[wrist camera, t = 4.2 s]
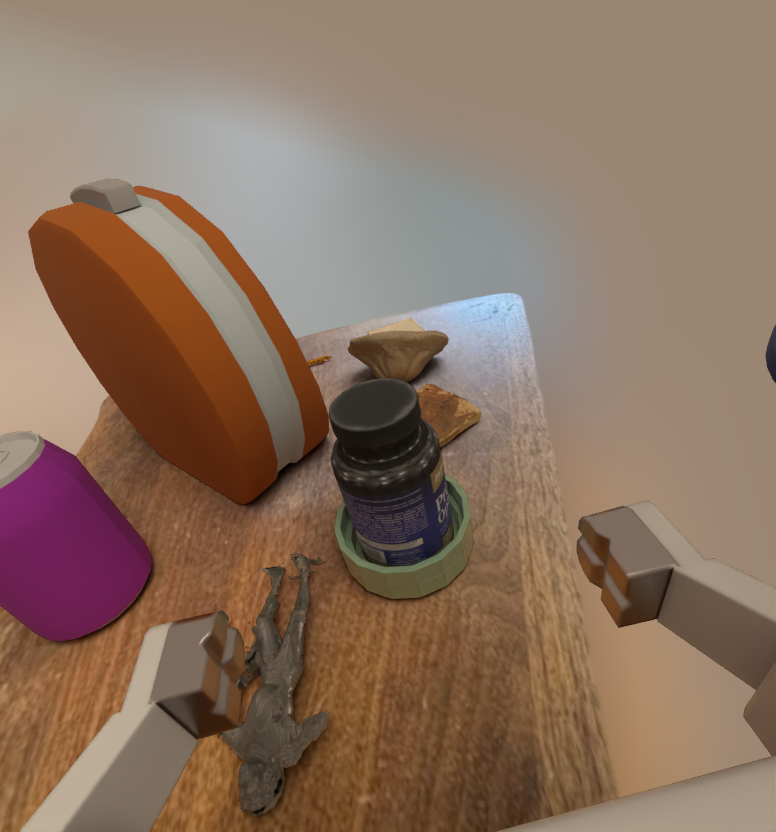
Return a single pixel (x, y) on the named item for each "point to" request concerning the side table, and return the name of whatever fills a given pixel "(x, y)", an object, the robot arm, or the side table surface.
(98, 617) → the beverage can
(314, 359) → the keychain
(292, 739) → the figurine
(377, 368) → the fossil
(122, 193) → the alarm clock
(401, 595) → the bowl
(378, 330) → the mat
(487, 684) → the side table surface
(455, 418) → the shard
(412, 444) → the pill bottle
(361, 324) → the side table surface
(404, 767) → the side table surface
